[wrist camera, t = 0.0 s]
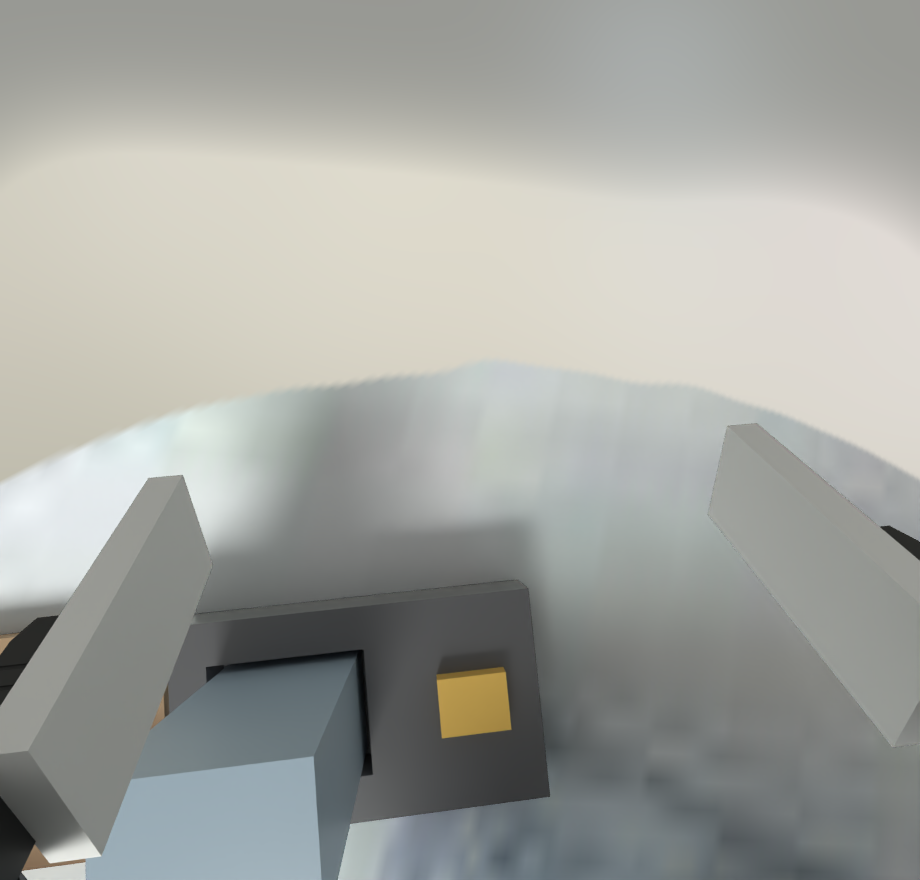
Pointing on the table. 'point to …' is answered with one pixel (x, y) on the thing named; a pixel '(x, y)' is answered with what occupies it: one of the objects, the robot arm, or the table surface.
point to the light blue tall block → (247, 777)
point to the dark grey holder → (409, 688)
